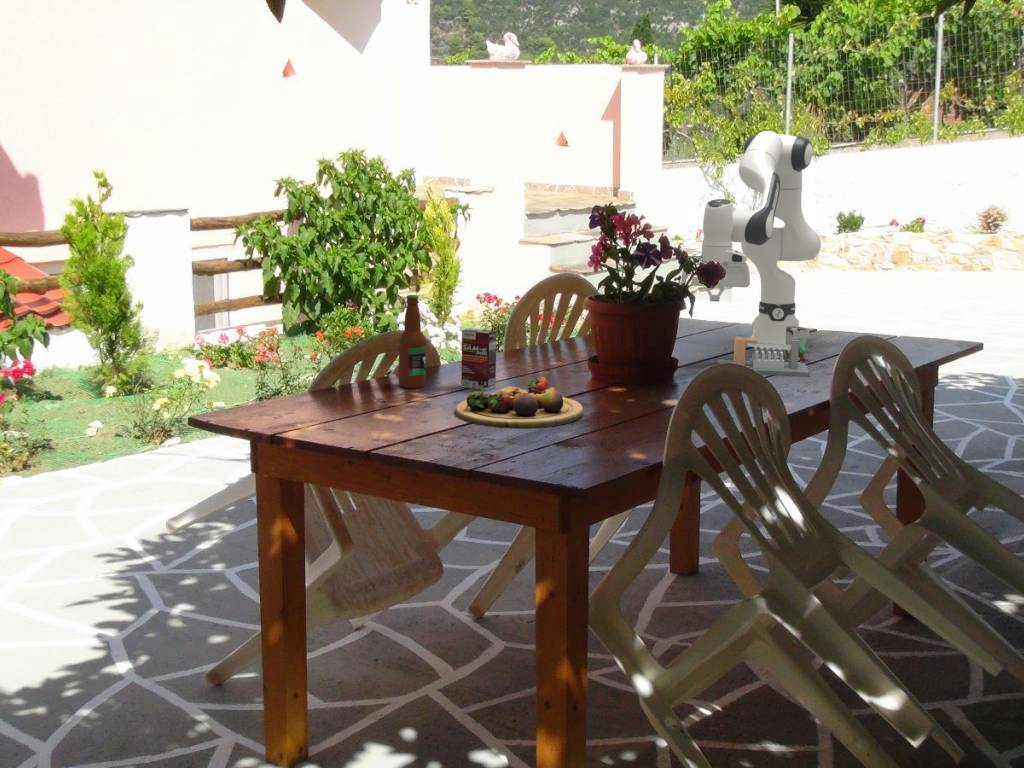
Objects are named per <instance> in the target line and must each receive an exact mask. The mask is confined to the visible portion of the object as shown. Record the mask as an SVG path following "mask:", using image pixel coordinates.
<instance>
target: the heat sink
mask: <svg viewBox="0 0 1024 768" xmlns="http://www.w3.org/2000/svg"><path fill="white" fill-rule="evenodd" d="M790 345H792V348H791V350H790V356H789V361H785V358H784V352H783V349H773V348H771V349H772V352H771V350H770V348H765V349H766V350H764V348H761V347H759V351H758V347H753V354H751V360H746V359H745V365H746V366H749V367H751V368H753V369H754V370H756V371H757V372H759V373H761V374H763V375H764V374H766V375H765V376H786V375H793V377H810V371H809V369H808V367H807V365H806V364H805V362H800V363H798V351H799V340H798V338H791V340H790ZM724 362H734V359H717V364H718V363H724ZM761 374H760V375H761ZM794 375H795V376H794Z"/></svg>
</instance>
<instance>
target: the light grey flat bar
mask: <svg viewBox="0 0 1024 768" xmlns="http://www.w3.org/2000/svg"><path fill="white" fill-rule="evenodd" d="M746 346H747V347H752V348H754V347H757V348H760V347H761V348H763V349H766V348H769V349H772V348H773V349H775V350H778V349H781V350H791V348H792V345H784V344H772V343H760V342H758V343H746Z"/></svg>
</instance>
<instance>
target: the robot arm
mask: <svg viewBox="0 0 1024 768" xmlns="http://www.w3.org/2000/svg"><path fill="white" fill-rule="evenodd" d="M743 145H744V146H743V154H742V157H741V160H740V162H739V166H738V174H739V177H740V179H741V181H742V182H743V183H744V185H746V187H748V188H750V189H751V190H754V191H757V192H759V193H761V194H762V197H761V199H760V200H761V201H760V204H759V208H758V209H754V210H745V209H736V208H734V207H733V202H732V200H729V199H727V198H726V199H725V198H718V199H711V200H709V201H708V202H707V203H706V205H705V208H704V213H703V220H702V222H703V223H702V232H703V239H702V241H701V242H702V244H701V254H698V253H697V254H688V253H687V254H686V255H688V256H689V257H690V258H692V257H696V258H698V259H699V262H701V263H707V262H709V261H715V262H719V263H720V264H721V265H722V267H723V268H724V269H725V270H726V275H725V277H724V278H723V279H722V280H720V281H719V282H718V284H717V285H716V286H715V287H717V288H718V290H719V292H718V294H713V293H712V292H711V290H712V287H711V288H707V287H706V286H705V285H704V284H701V283H699V280H698V277H694V278H693V279H692V282H691V284H690V286H691V287H706V292H707V294H708V296H709V302H718V303H719V302H720V301H721V299H720V298H721V296H722V294H723V293H724V291H725V290H724V289H725V287H726V288H748V287H749V286H750V284H751V276H750V268H749V265H748V263H747V259H749V260H750V261H751V262H752V263H753V265H754V266H755V267H756V269H757V271H758V274H759V278H760V301H759V303H758V312H759V313H758V315H757V316H756V317H755V318H754V320H753V321H752V323H751V329H752V330H751V334H752V335H750V336H749V337H748V338H757V340H758V342H760V343H772V344H784V345H786V326H796V327H800V320H798V318H797V317H796V315H795V314H796V309H797V307H796V302H795V295H796V280H795V278H794V276H792V274H790V273H788V272H787V271H785V270H783V269H780V267H778V262H804V261H812V260H814V259H815V258H816V257H818V255H819V253H820V252H821V246H822V242H821V238H820V236H819V234H818V233H817V231H816V230H814V229H813V228H812V227H811V226H810V225H809V224H808V222H807V221H806V219H805V216H804V215H803V210H802V194H803V193H802V191H803V190H802V189H803V170H805V169H807V167H809V165H810V164H811V162H812V158H813V152H814V151H813V150H814V149H813V144H812V142H811V141H810V139H809V138H807V137H804V136H802V135H801V136H800V135H799V136H795V135H791V134H785V133H784V134H783V133H779V134H778V133H776V132H774V131H772V130H764V131H761V132H759V133H756V134H751V135H749V137H748V138H747V139H746V140H745V143H744V144H743ZM775 218H777V219H779V220H781V221H782V222H783V223H784V226H782V227H774V224H775V223H774V222H775ZM733 243H740V244H741V245H740V246H741V252H740V251H738V250H734V249H733ZM699 262H697V264H696V265H699ZM688 276H689V275H686V274H685V272H684V271H683V270H682V272H681V279H682V280H680V281H681V284H682V285H683V283H685V281H686V279H687V278H688Z"/></svg>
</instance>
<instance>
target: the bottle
mask: <svg viewBox="0 0 1024 768" xmlns="http://www.w3.org/2000/svg"><path fill="white" fill-rule="evenodd" d="M406 299H407V300H406V304H407V305H406V310H405V315H404V325H403V326H404V331H403V332H402V334H401V335H400V337H399V340H398V385H399V386H400V387H401V388H403V389H422V388H424V387H425V386H426V382H427V378H426V377H427V375H426V373H427V363H426V362H427V359H426V358H427V353H426V352H427V351H426V350H427V340H426V337H425V335H424V334H423V332H422V330H421V314H420V309H419V306H418V305H419V295H418V294H408V295H406Z"/></svg>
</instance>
